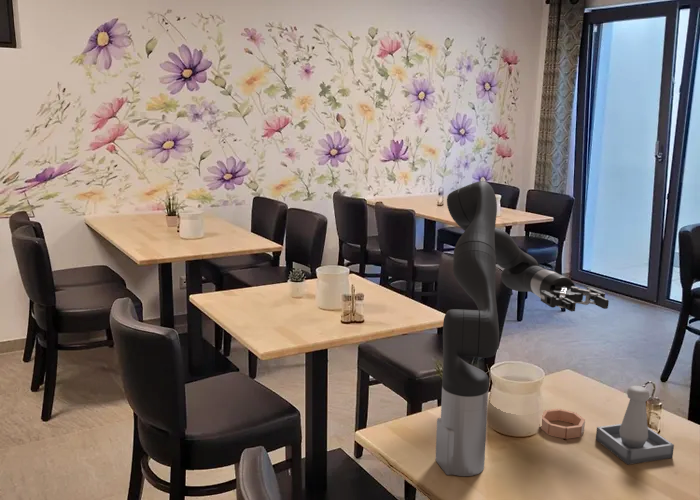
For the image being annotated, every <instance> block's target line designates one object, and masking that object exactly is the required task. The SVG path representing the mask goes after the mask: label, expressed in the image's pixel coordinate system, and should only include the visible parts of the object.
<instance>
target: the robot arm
mask: <svg viewBox="0 0 700 500" xmlns="http://www.w3.org/2000/svg"><path fill="white" fill-rule="evenodd" d="M446 207H447V210H448V212H449V215H450V216H451V218H452V220H453V222H455V223H456V225H458V227H459V228H460V229H462V230H463V231H464V232H463V233H462V234H461V236H460V237H459V238H458V240H457V242H456V243H455V246H454V250H453V255H452V256H453V260H452V262H453V263H452V272H453V276H454V279H455V280H456V281H457V283H458V285H459V286H460V287H461V288H462V290H463V291H464V292H465V293H466V294H467V295H468V296H469V297H470V299H472V301H473V302H474V303H475V305H476V307H477V309H462V308H461V309H458V308H456V309H455V308H454V309H453V308H452V309H448V310H447V311H446V313H445V315H444V318H443V322H442V360H443V361H442V362H443V363H442V380H441V403H440V417H438V418H437V419H436V435H435V461H436V464H438V466H439V467H440V468H441V470H442V471H443V472H444V474H445V475H447V476H451V475H454V476H458V477H472V476H476V475H478V474H481V473H482V471H484V469H485V459H486V440H487V438H486V437H487V424H488V423H487V422H488V421H487V419H488V406H489V405H488V402H489V383H490V379H489V375H488V374H487V373H486V372H485V371H484V370H482V369H480V368H479V367H476V366H474V365H473V364H470V363H468V362H466V361H465V360H464V359H463V358H464V357H465V358H466V357H467V358H480V359H481V358H483V359H484V358H492V357H494V356H495V355H496V353H497V352H498V348H499V345H500V328H499V327H500V326H499V315H498V305H497V297H496V281H497V280H496V277H497V275H496V273H497V265H498V266H499V267H500V268H502V272H501V275H500V279H501V282H502V283H503V285H505V286H506V288H509V289H510V290H511V291H512V290H513V291H515V292H525V293H526V292H527V293H528V292H529V293H532V294H534V295H535V296H537V297H539V298H540V302H542V303H543V304H545V305H547V306H549V308H556V307H558V308H561V309H562V308H563V309H566V310H568V311H569V312H575V311H576V306H577V305H576V304H579V305H585V306H587V305H589V304H590V305H595V306H598V307H599V308H601V309H603V310H604V309H605V310H606V309H608V308H609V303H610V301H609V299H607V298H606V297H605V296H606V293H605V292H604V291H601V290H599V289H596V288H594V287H591V286H589V287H587V288H586V289H585V288H580V287H579V286H576V285H575V283H574V282H573V280H572V279H571V278H569V277H567V276H565V275H562V274H561V273H558V272H556V271H553V270H548V269H546V268H544V267H543V266H542V267H541V266H539V263H538V261H537V259H535V258H534V257H533V256H532V255H530V254H529V253H526V252H525V251H524V250H522V249H521V248H520V247H519V246H518V244H517V243H516V242H515V240H514V239H513V237H512V236H511V235H510V234H508V232H506V231H504V230H502V229H500V228H498V227H496V224H497V212H498V203H497V196H496V194H495V190H494V188H493V187H492V185H491V184H490V183H489V182H487V181H485V180H484V181H483V180H480V181H475V182H472V183H470V184H468V185H464V186H463V187H460V188H457V189H455V190H453V191H451V192H450V193H448V195H447V197H446ZM584 297H585V299H584ZM583 299H584V300H583ZM461 357H463V358H461Z"/></svg>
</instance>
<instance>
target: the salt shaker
mask: <svg viewBox="0 0 700 500" xmlns="http://www.w3.org/2000/svg"><path fill="white" fill-rule="evenodd" d="M626 395H627V398H628V399H629V401H628V404H627V407H626V410H625V413H624V416H623V419H622V422H621V423H620V424H621V427H620V430H619V432H620V437H621V440H622V442H623V444H624V445H626V446H628V447H629V448H637V449H638V448H641V447H643V446H644V444H645V442H646V441H647V439H648V427H649V426H648V416H647V415H648V414H647V403H646V402H647V401H649V399H650V391H649V389H647V388H646V387H645V386H641V385H630V386H629V387H628V388H627V391H626Z"/></svg>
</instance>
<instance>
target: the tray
mask: <svg viewBox="0 0 700 500" xmlns="http://www.w3.org/2000/svg"><path fill="white" fill-rule="evenodd" d="M621 424H622V423H617V424H616V423H615V424H610V425H603V426H597V427H596V432H595V440H596V441H597V443H600V444H601V445H602V446H604V447H605V448H606V449H607V450H609V451H610V452H611V453H612V454H614V455H615V456H616V457H617V458H618V459H620V460H621V461H622V462H624V463H625V464H626V465H633V464H640V463H641V464H642V463H647V462H655V461H661V460H666V459H673V456H674V450H675V449H674V447H675V443H672V442H671V441H669V440H668V439H666V438H665V437H663V436H661V435H660V434H659V433H657V432H656V431H654V430H653V429H652V428H650V427H649V426H648V439H647V441H646V442H645V444H644V446H643V447H641V448H638V449H637V448H629V447H628V446H626V445H624V444H623V442H622V440H621V437H620V432H619V430H620V427H621Z"/></svg>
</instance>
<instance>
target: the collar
mask: <svg viewBox="0 0 700 500" xmlns="http://www.w3.org/2000/svg"><path fill="white" fill-rule="evenodd" d="M542 413H543V415H542V414H541V415H542V426H541V428H540V429H541V430H542V431H543V432H545V434H547V435H549V436H552V437H555V438H556V437H557V438H560V439H566V440H568V439H576V438H577V439H578V438H581V437H582V436H583V434H584V431H585V423H586V419H585V418H584V417H583V416H581V415H580V414H578V413H577V412H575V411H571V410H566V409H562V408H554V409H545V410H543V412H542ZM553 421H554V422H555V421H561V422H565V423H570V424H573V425H570V426H564V425H559V424H555V423H552V422H553Z"/></svg>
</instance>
